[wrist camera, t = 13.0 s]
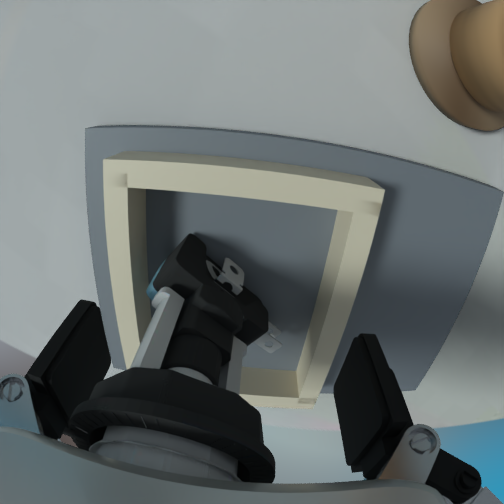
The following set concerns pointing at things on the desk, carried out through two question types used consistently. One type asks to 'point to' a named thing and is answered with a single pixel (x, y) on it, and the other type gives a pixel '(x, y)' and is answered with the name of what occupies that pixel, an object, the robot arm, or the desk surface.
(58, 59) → the desk surface
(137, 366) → the push button
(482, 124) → the wooden cabinet knob
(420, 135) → the desk surface
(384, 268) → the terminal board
